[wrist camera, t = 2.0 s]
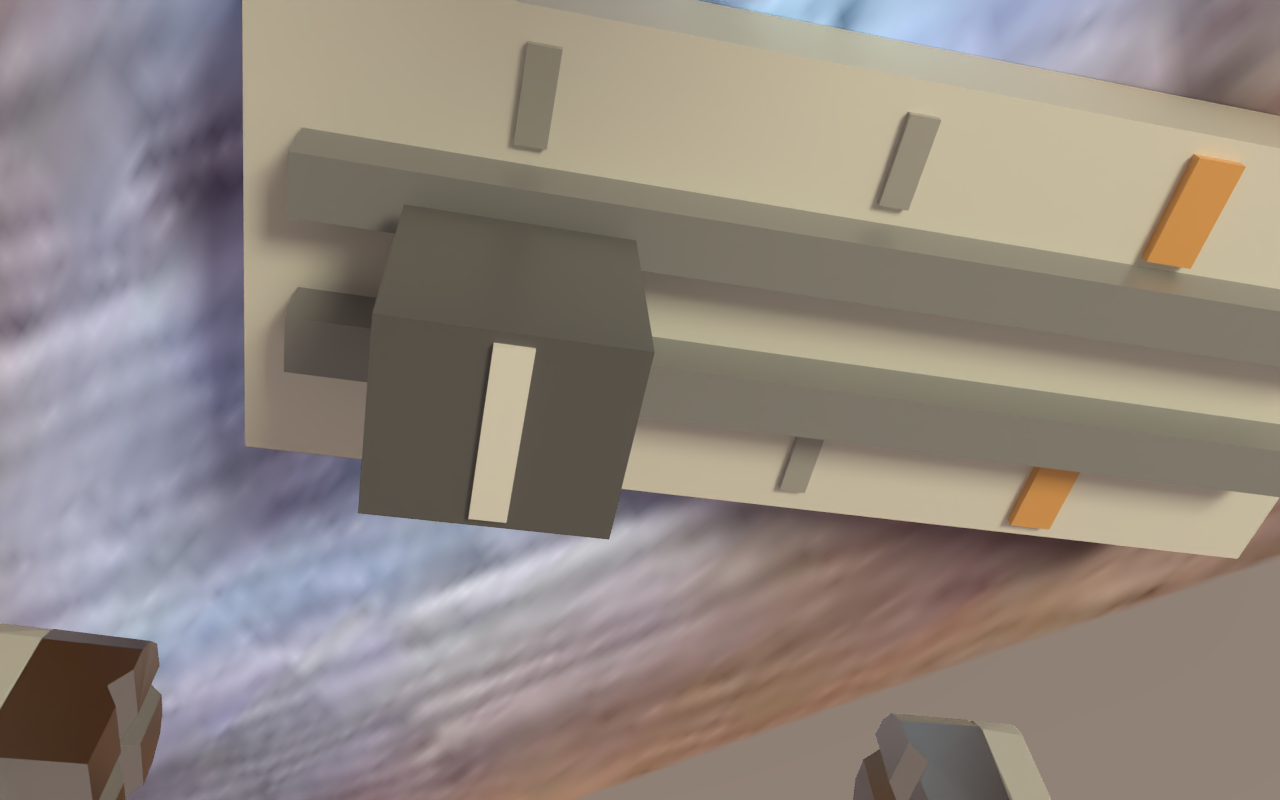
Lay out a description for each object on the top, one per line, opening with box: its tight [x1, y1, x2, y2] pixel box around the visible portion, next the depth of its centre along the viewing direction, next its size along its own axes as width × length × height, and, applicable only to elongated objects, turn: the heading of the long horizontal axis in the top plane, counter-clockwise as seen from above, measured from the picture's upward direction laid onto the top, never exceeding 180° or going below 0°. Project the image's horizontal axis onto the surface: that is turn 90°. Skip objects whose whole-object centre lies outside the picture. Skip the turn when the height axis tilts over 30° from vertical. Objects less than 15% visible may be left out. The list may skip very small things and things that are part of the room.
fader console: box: [242, 0, 1280, 559], centre depth 22 cm, size 24×10×4 cm, turn 79°
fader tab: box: [358, 204, 655, 539], centre depth 18 cm, size 4×4×6 cm
